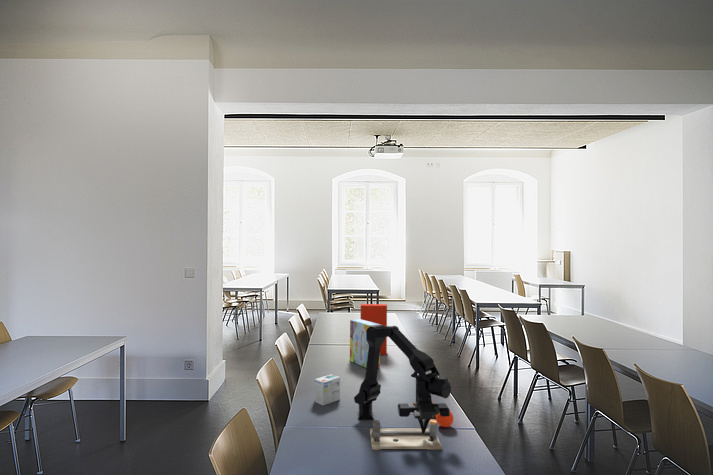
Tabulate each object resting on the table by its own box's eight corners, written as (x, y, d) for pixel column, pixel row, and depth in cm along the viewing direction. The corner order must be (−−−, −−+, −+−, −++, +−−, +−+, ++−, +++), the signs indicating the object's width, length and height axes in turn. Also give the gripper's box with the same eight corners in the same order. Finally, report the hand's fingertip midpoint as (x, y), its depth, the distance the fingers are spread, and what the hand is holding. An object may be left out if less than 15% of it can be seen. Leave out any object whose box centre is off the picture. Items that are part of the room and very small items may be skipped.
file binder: (360, 351, 277) (360, 303, 277) (386, 351, 277) (386, 304, 277) (360, 354, 269) (360, 305, 269) (386, 355, 268) (386, 306, 269)
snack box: (381, 367, 241) (381, 324, 241) (369, 370, 236) (369, 325, 236) (360, 359, 259) (360, 318, 259) (348, 361, 254) (349, 319, 254)
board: (369, 431, 161) (369, 413, 161) (433, 431, 161) (433, 413, 161) (372, 449, 147) (372, 430, 147) (441, 449, 147) (441, 429, 147)
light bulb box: (331, 395, 197) (331, 373, 197) (340, 399, 192) (340, 376, 193) (313, 401, 190) (313, 378, 190) (323, 406, 185) (323, 382, 185)
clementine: (440, 432, 161) (440, 413, 161) (430, 424, 167) (430, 407, 167) (457, 428, 164) (457, 410, 164) (446, 421, 170) (446, 404, 170)
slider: (428, 434, 155) (428, 419, 155) (435, 434, 155) (435, 419, 155) (430, 440, 151) (431, 424, 151) (437, 440, 151) (438, 424, 151)
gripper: (401, 399, 145) (401, 443, 145) (453, 399, 146) (453, 443, 146) (397, 388, 156) (397, 429, 156) (446, 387, 157) (446, 428, 157)
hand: (423, 432), depth 153 cm, fingers closed
